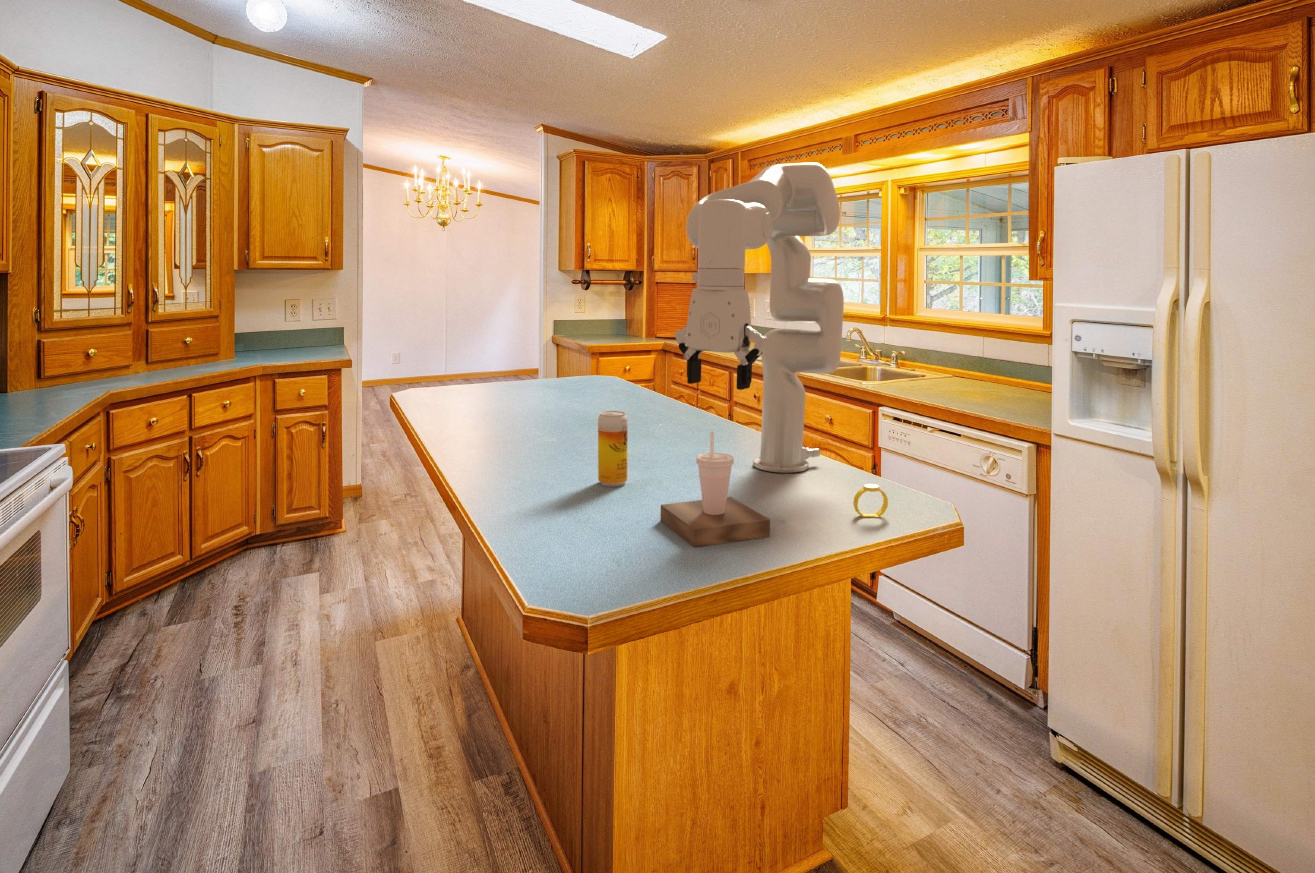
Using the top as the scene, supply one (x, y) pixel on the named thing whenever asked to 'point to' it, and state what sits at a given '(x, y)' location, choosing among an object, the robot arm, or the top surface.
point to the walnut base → (714, 523)
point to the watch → (871, 488)
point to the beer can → (612, 448)
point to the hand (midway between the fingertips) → (718, 385)
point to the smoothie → (714, 479)
